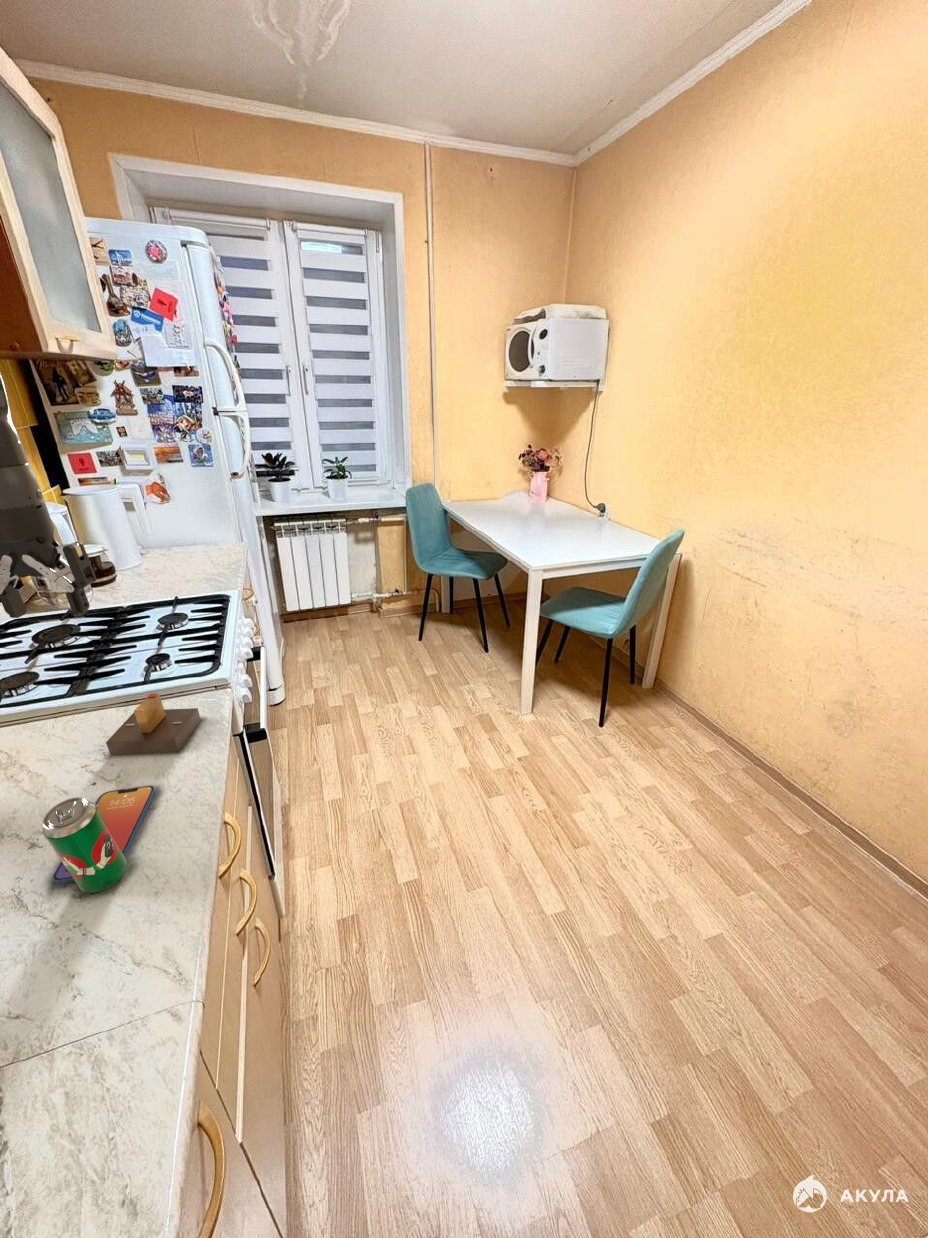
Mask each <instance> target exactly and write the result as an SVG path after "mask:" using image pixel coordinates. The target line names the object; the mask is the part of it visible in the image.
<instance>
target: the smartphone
mask: <svg viewBox="0 0 928 1238" xmlns="http://www.w3.org/2000/svg"><path fill="white" fill-rule="evenodd" d="M155 795H156V790H155V787H154V786H153V785H143V786H136V787H129V788H123V789H116V790H109V791H106V792H104V793H102V794H101V795H100V796H99V797H98V799H97V800H96V802H95V803H94V804H95V805H96V806H97V808H98V810H99V812H100V814H101V815H102V817H103V819H104V821H105V823H106V824H107V826H108V828H109V830H110V832H111V833H112V835H113V837H114V839H115V840H116V842H117V844H118V846H119V848H120V849H121V851H122V853H123V855H124V857H125V858H126V857H127V856H128V853H129V851H130V849H131V847H132V845H133V843H134V840H135V838H136V837H137V835H138V832H139V830H140V827H141V825H142V823H143V821H144V819H145V817H146V814H147V812H148V810H149V808H150V806H151V804H152V802H153V799H154V797H155ZM52 879H53V882H54V884H56V885H64V884H70V883H76V882H75V880H74V879H73V877H72V876H71V874H70V873H69V871H68V870H67V869H66V867H65V866H64V864H63V863H62V861H61V860H60V863H59V865H58V867H57V868H56V870H55V872H54V873H53V876H52Z"/></svg>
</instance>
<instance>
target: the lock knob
mask: <svg viewBox="0 0 928 1238" xmlns="http://www.w3.org/2000/svg"><path fill="white" fill-rule="evenodd" d="M164 710H165V708H164V705H163V702H162V698H161V695H160V694H159V693H149V694H148V695H147V696H146V698H145V699H144V700H143V701H142V702H141V703H140V704H139V705H138V706H137V707H136V708H135V709H134V710H133V713H135V716H136V719H137V722H138V725H139V728H140V731H141V733H151V732H152V731H153V729H154V728H155V727H156V726H157V725H158V724H159V723H160V722H161V720H162V719H163V718H164V717H165V716H166V714H165V711H164Z"/></svg>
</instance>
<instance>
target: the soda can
mask: <svg viewBox="0 0 928 1238" xmlns="http://www.w3.org/2000/svg"><path fill="white" fill-rule="evenodd" d="M95 804H96V803H94V802H93V801H90V800H89V799H87V798H85V797H81V796H79V797H71V798H67V799H65V800H62V801H61V802H59V803H57V804H56V805H54V806H53V807H52V808H51V809H49V810H48V812H47V813H46V814H45V815H44V816H43V817H44V818H43V820H42V835H43V836H44V837H45V839H46V840H47V842H48V843H49V845H50V846H51V848H52V850H53V851H54V852H55V854H56V855H57V857H58V858H59V860H60V862H61V861H62V863H63V864H64V866H65V867H66V869H67V870H68V871H69V873H70V874H71V876H72V877H73V879H74V880H75V882H74V883H76V885H77V886H78V888H79V889H80V890H81V891H82V892H83V893H87V894H94V893H99V892H102V891H104V890H106V889H109V888H111V887H112V886H113V885H115V884H116V883H117V882H118V881H119V880H120V879H121V877H123V875H124V873H125V871H126V869H127V865H128V862H127V858H126V857H124V855H123V853H122V851H121V849H120V848H119V846H118V844H117V842H116V840H115V839H114V837H113V835H112V833H111V832H110V830H109V828H108V826H107V824H106V823H105V821H104V819H103V817H102V815H101V814H100V812H99V810H98V808H97V806H96V805H95Z"/></svg>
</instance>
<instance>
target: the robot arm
mask: <svg viewBox="0 0 928 1238" xmlns="http://www.w3.org/2000/svg"><path fill="white" fill-rule="evenodd" d="M11 414H12V413H11V409H10V404H9V399H8V396H7V392H6V387H5V383H4V380H3V377H2V374H1V372H0V603H1V605H2V607H3V610H4V612H5V613H6V614H7V615H9V617H10V618H11V619H20V618H22V616H25V615H26V614H27V608H26V605H25V602H24V600H23V598H22V595H21V593H20V590H19V588H16V586H17V584H18V582H19V580H20V578H27V577H34V578H42V577H45V578H46V579H47V580H48V581H50V582H51V583H56V584H57V585H58V586H59V587H60V588H62V589H63V590H65V591H66V592H65V597H66V599H67V602H68V605H69V608H70V610H71V613H72V616H74V617H82V616H84V615H85V614H87V613H88V611H89V609H90V602H89V600H88V597H87V594H86V591H85V588H86V587H88V586H89V585H91V584H93V583H95V582H96V581H97V575H96V573H95V571H94V569H93V566H92V563H91V560H90V558H89V555H88V553H87V551H86V548H85V545H84V544H83V543H82V542H81V541H79V540H77V541H74V542H71V543H66V544H65V543H64V544H60V543H59V542H58V541H57V539H55V526H54V524H53V521H52V517H51V515H50V513H49V510H48V507H47V504H46V501H45V499H44V496H43V492H42V489H41V487H40V484H39V482H38V479H37V478H36V475H35V473H34V472H33V469H32V467H31V466H30V463H29V461H28V457H27V455H26V452H25V449H24V446H23V444H22V441H21V437H20V436H19V433H18V431H17V429H16V427H15V424H14V421H13V418H12V415H11ZM61 556H62V557H61ZM65 560H66V561H65ZM56 569H57V570H56Z"/></svg>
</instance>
